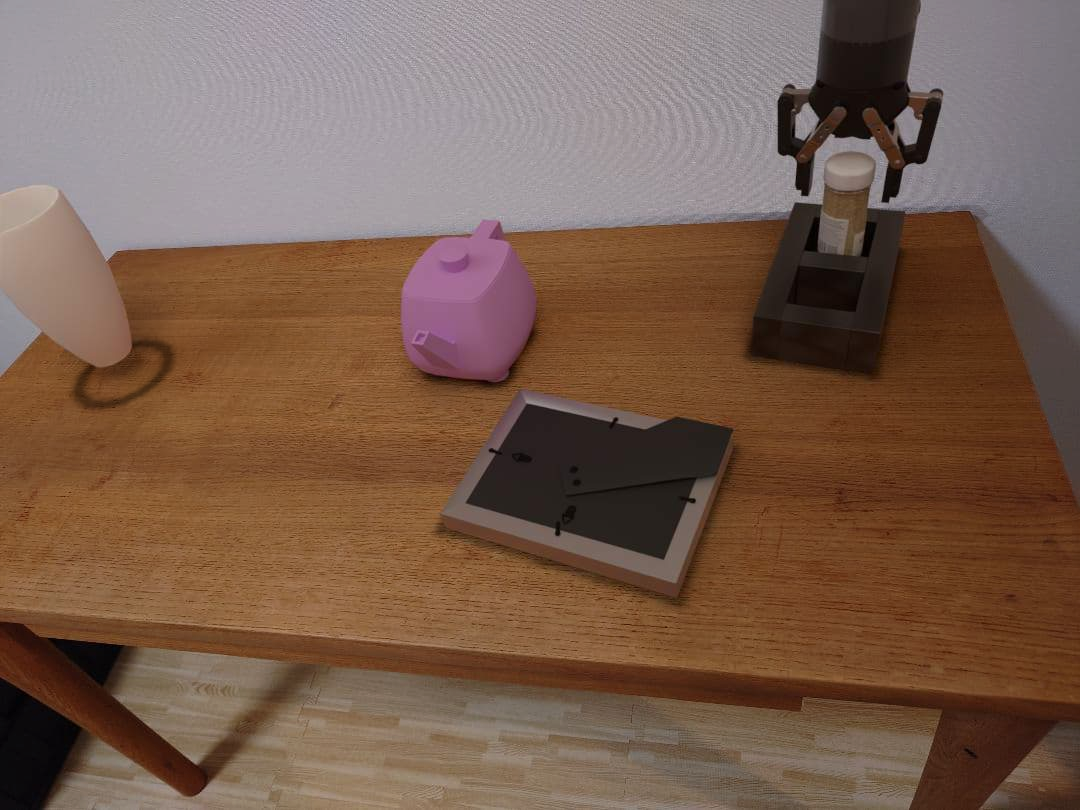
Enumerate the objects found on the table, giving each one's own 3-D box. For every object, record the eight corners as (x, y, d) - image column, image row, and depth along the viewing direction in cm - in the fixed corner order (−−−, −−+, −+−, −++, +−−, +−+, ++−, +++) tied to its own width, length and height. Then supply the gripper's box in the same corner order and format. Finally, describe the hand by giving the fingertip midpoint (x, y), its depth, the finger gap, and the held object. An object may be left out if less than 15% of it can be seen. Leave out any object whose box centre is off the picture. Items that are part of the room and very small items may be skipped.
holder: (898, 251, 86) (905, 211, 83) (873, 374, 74) (880, 333, 71) (791, 240, 91) (794, 202, 87) (751, 355, 79) (753, 316, 75)
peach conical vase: (60, 393, 91) (-69, 233, 76) (127, 336, 98) (20, 177, 83) (122, 413, 87) (-2, 247, 72) (188, 351, 93) (86, 187, 78)
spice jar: (867, 282, 84) (886, 165, 74) (827, 294, 83) (841, 178, 74) (843, 259, 87) (859, 144, 78) (805, 271, 86) (815, 157, 77)
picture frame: (732, 450, 71) (523, 403, 79) (733, 428, 69) (518, 382, 77) (677, 598, 61) (445, 528, 69) (675, 578, 59) (437, 508, 67)
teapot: (461, 290, 94) (434, 194, 85) (562, 298, 90) (545, 199, 81) (386, 411, 81) (346, 313, 72) (500, 428, 77) (472, 326, 68)
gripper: (771, 38, 67) (763, 210, 79) (960, 39, 62) (921, 223, 73) (789, 3, 72) (778, 170, 83) (966, 1, 66) (929, 181, 78)
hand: (845, 195), depth 78 cm, fingers open, 7 cm apart
